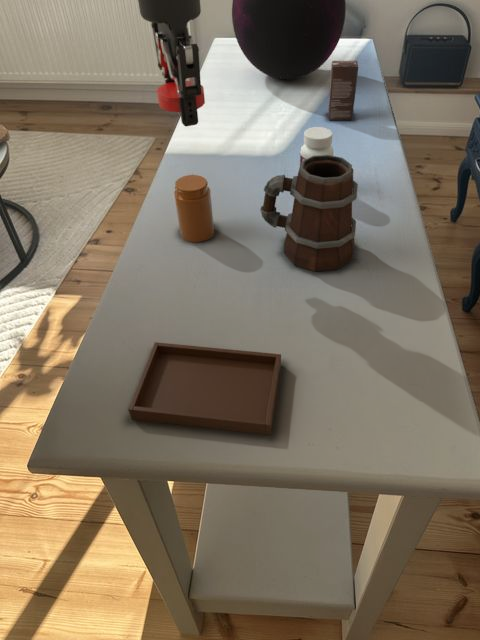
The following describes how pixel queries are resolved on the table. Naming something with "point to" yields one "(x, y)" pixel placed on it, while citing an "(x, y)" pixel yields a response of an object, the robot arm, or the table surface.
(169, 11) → the robot arm
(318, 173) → the mug
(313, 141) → the pill bottle
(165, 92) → the lid
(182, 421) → the tray
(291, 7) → the dark purple ball
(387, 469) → the table surface
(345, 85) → the box
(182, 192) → the jar
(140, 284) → the table surface
